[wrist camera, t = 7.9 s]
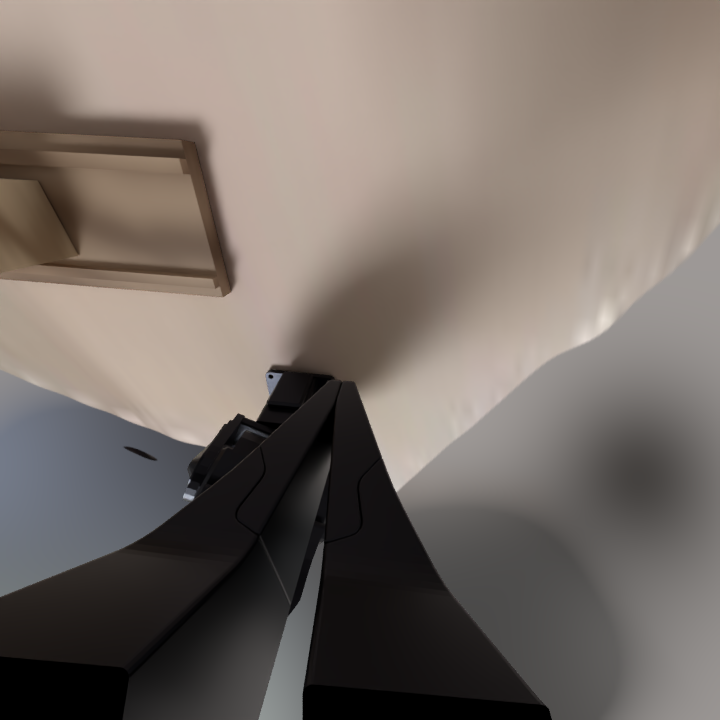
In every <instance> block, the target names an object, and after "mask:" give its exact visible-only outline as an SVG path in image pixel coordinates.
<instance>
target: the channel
mask: <svg viewBox="0 0 720 720" xmlns="http://www.w3.org/2000/svg"><path fill="white" fill-rule="evenodd" d="M0 178H5V179H21V180H37V181H38V182H39V184H40V186H41V188H42V189H43V191H44V193H45V195H46V197H47V199H48V200H49V202H50V204H51V206H52V208H53V210H54V211H55V213H56V215H57V217H58V219H59V221H60V222H61V224H62V226H63V228H64V230H65V232H66V233H67V235H68V237H69V239H70V241H71V243H72V244H73V246H74V248H75V250H76V252H77V254H78V255H79V256H75V257H71V258H66V259H62V260H57V261H53V262H48V263H44V264H39V265H35V266H30V267H26V268H21V269H17V270H12V271H8V272H3V273H0V279H8V280H20V281H32V282H44V283H56V284H68V285H80V286H92V287H104V288H116V289H128V290H140V291H152V292H164V293H176V294H188V295H200V296H212V297H224V296H226V295H227V294H229V293H230V292H231V290H230V286H229V281H228V277H227V273H226V269H225V265H224V261H223V257H222V253H221V249H220V245H219V241H218V236H217V232H216V228H215V224H214V220H213V216H212V212H211V208H210V204H209V200H208V196H207V191H206V187H205V183H204V179H203V175H202V171H201V167H200V163H199V159H198V155H197V151H196V147H195V143H193V142H189V141H184V140H177V139H157V138H137V137H117V136H97V135H78V134H58V133H38V132H18V131H0Z"/></svg>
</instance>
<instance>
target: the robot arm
mask: <svg viewBox="0 0 720 720" xmlns="http://www.w3.org/2000/svg"><path fill="white" fill-rule="evenodd" d="M271 375H273V376H271ZM327 380H329V381H327ZM266 381H267V385H268V390H269V395H270V397H269V399H268V400H267V403H266V405H265V407H264V408H263V410H262V412H261V414H260V415H259V417H258V419H257V421H256V422H255V421H253V420H250V419H248V418H245V416H244V415H241V414H239V413H238V414H237V415H236V417H235V418H234V419H233V420H230V421H229V422H228V424H224V426H223V427H222V429H221V430H220V431H219V433H218V434H217V436H216V437H215V438H214V440H213V441H212V442H211V443H210V444H209V445H208V446H207V447H206V448H205V449H204V450H203V451H202V452H200V453H199V454H198V455H197V456H196V457H195V458H194V459H193V460H192V462H191V463H190V464H189V467H188V473H189V476H190V479H189V481H188V484H187V489H186V491H185V493H184V496H183V500H185V501H188V502H190V503H189V504H188V505H187V506H185V507H184V508H183V509H181V510H180V511H179V512H177V513H176V514H175V515H174V516H172V517H171V518H170V519H168V520H167V521H166V522H165V523H163V524H162V525H161V526H159V527H158V528H156V529H155V530H153V531H152V532H151V533H149V534H147V535H146V536H144V537H143V538H141V539H139V540H137V541H136V542H134V543H132V544H130V545H128V546H126V547H124V548H122V549H120V550H118V551H115V552H113V553H110V554H107V555H105V556H102V557H100V558H97V559H95V560H92V561H90V562H87V563H85V564H82V565H80V566H77V567H75V568H72V569H70V570H67V571H65V572H62V573H60V574H57V575H55V576H52V577H50V578H47V579H45V580H42V581H39V582H37V583H35V584H32V585H29V586H27V587H24V588H22V589H19V590H17V591H14V592H12V593H9V594H7V595H4V596H2V597H0V720H258V719H259V715H260V711H261V708H262V705H263V701H264V697H265V694H266V690H267V687H268V683H269V680H270V676H271V673H272V669H273V666H274V662H275V658H276V655H277V652H278V648H279V645H280V641H281V638H282V634H283V631H284V627H285V624H286V620H287V617H288V615H289V614H290V613H291V612H292V610H293V609H294V608H295V606H296V605H297V604H298V602H299V601H300V598H301V595H302V592H303V589H304V585H305V582H306V578H307V575H308V572H309V569H310V565H311V562H312V559H313V557H314V554H315V551H316V549H317V546H318V544H321V543H322V542H323V541H324V549H323V561H322V570H321V579H320V586H319V593H318V599H317V605H316V612H315V618H314V625H313V632H312V638H311V644H310V651H309V657H308V663H307V670H306V676H305V682H304V689H303V720H552V719H551V716H550V711H549V709H548V708H547V707H546V705H545V704H544V703H543V702H542V701H541V700H540V699H539V698H538V697H537V696H536V694H535V693H534V692H533V691H532V690H531V688H530V687H529V686H528V685H527V684H526V682H525V681H524V680H523V679H522V677H521V676H520V675H519V674H518V673H517V671H516V670H515V669H514V668H513V667H512V666H511V664H510V663H509V662H508V661H507V659H506V658H505V657H504V656H503V655H502V653H501V652H500V651H499V650H498V649H497V647H496V646H495V645H494V644H493V643H492V642H491V640H490V639H489V638H488V637H487V635H486V634H485V633H484V632H483V631H482V629H481V628H480V627H479V626H478V625H477V623H476V622H475V621H474V620H473V618H472V617H471V616H470V615H469V614H468V612H467V611H466V610H465V609H464V608H463V606H462V605H461V604H460V603H459V602H458V600H457V599H456V598H455V597H454V596H453V594H452V593H451V592H450V590H449V589H448V588H447V586H446V585H445V583H444V581H443V580H442V578H441V577H440V575H439V574H438V572H437V570H436V569H435V567H434V565H433V563H432V561H431V559H430V558H429V556H428V554H427V552H426V550H425V548H424V546H423V544H422V542H421V541H420V538H419V537H418V535H417V533H416V531H415V529H414V527H413V525H412V523H411V521H410V519H409V517H408V515H407V513H406V511H405V510H404V508H403V506H402V504H401V502H400V499H399V497H398V495H397V493H396V491H395V489H394V487H393V484H392V482H391V479H390V477H389V474H388V472H387V469H386V466H385V464H384V461H383V459H382V456H381V453H380V450H379V448H378V445H377V442H376V439H375V436H374V434H373V431H372V428H371V425H370V423H369V420H368V417H367V414H366V412H365V409H364V406H363V403H362V401H361V398H360V395H359V392H358V389H357V387H356V384H355V382H353V381H343V382H342V381H341V380H335V379H334V377H332V376H329V375H319V374H308V373H298V372H288V371H278V370H269V371H268V372H267V373H266Z"/></svg>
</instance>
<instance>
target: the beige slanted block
mask: <svg viewBox="0 0 720 720" xmlns="http://www.w3.org/2000/svg"><path fill="white" fill-rule="evenodd" d="M75 256H79V255H78V254H77V252H76V250H75V248H74V246H73V244H72V243H71V241H70V239H69V237H68V235H67V233H66V232H65V230H64V228H63V226H62V224H61V222H60V221H59V219H58V217H57V215H56V213H55V211H54V210H53V208H52V206H51V204H50V202H49V200H48V199H47V197H46V195H45V193H44V191H43V189H42V188H41V186H40V184H39V182H38V181H37V180H21V179H5V178H0V273H3V272H8V271H12V270H17V269H21V268H26V267H30V266H35V265H39V264H44V263H48V262H53V261H57V260H62V259H66V258H71V257H75Z"/></svg>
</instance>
